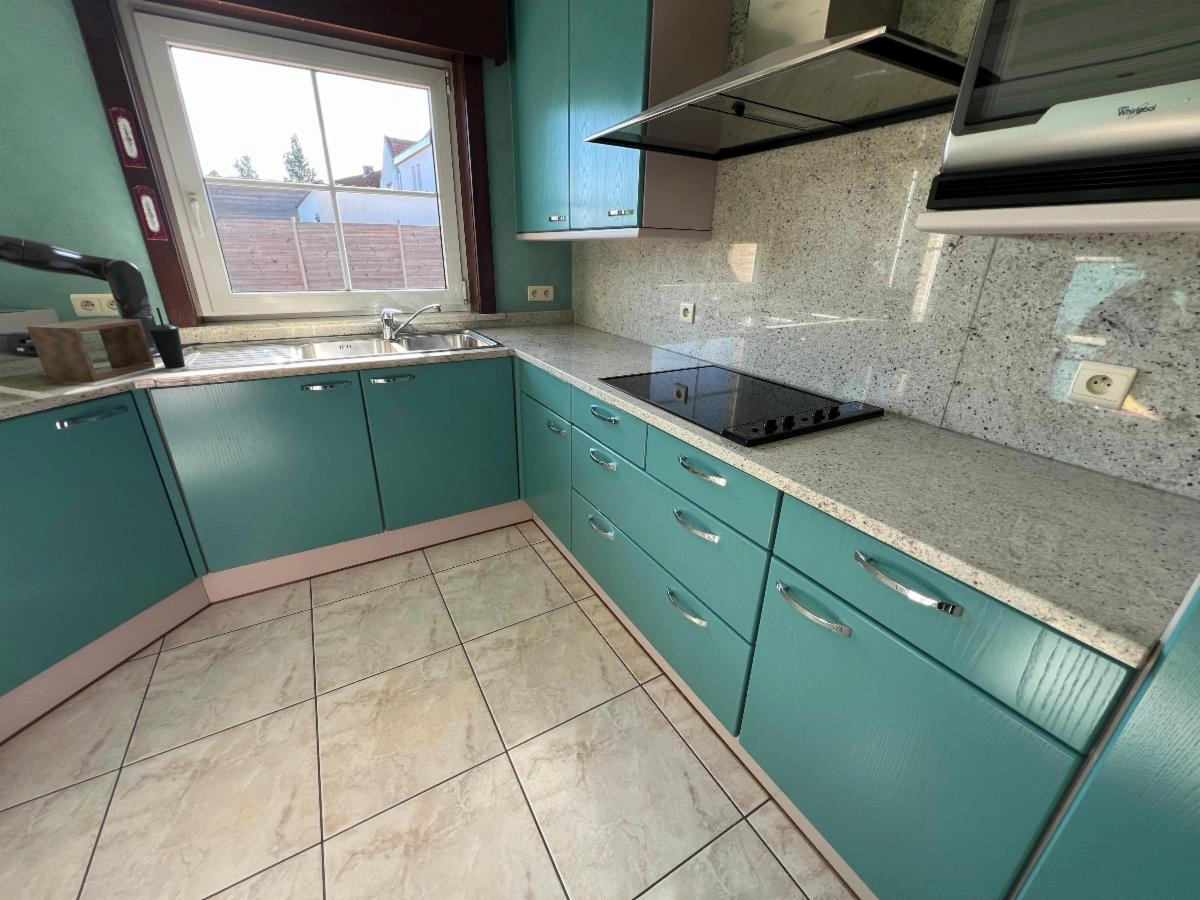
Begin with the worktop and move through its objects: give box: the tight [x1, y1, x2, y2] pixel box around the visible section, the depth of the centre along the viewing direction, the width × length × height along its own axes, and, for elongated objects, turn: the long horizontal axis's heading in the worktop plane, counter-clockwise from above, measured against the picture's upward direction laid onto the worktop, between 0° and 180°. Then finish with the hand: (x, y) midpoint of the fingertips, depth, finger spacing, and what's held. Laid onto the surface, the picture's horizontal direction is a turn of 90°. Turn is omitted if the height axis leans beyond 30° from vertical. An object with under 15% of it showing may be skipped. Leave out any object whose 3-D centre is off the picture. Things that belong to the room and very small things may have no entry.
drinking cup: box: [148, 307, 186, 370], centre depth 158 cm, size 8×8×20 cm
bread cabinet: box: [26, 317, 156, 383], centre depth 149 cm, size 14×20×16 cm
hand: (73, 346), depth 149 cm, fingers closed on bottle, 5 cm apart
